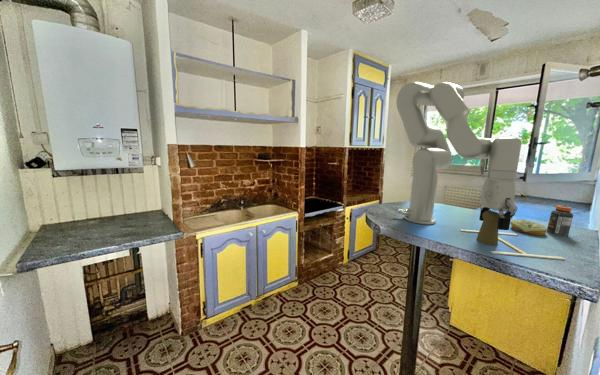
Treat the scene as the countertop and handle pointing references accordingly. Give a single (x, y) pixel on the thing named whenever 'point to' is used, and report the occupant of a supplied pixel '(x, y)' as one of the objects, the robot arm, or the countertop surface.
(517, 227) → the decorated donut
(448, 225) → the countertop surface
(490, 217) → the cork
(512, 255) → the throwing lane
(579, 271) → the countertop surface
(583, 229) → the countertop surface
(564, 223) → the pill bottle
